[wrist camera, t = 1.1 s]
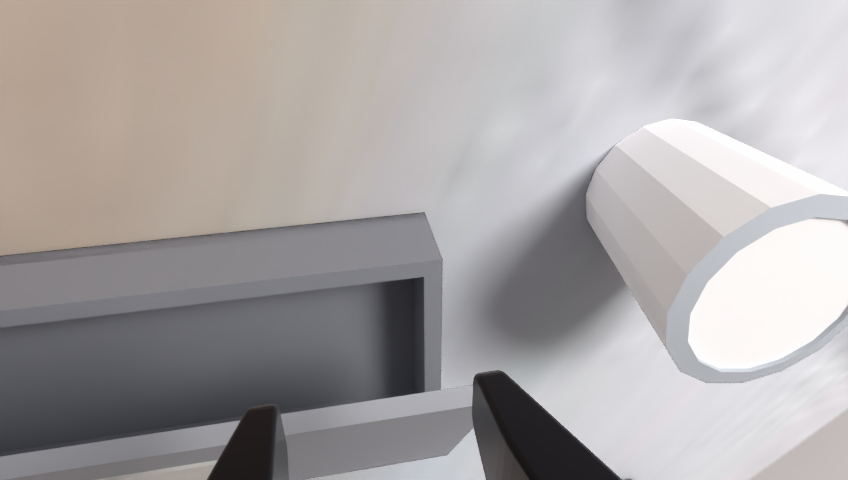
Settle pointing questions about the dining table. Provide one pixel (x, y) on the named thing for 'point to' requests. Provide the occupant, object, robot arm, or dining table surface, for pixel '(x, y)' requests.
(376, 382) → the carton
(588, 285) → the dining table surface
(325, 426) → the lid flap
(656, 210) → the shot glass
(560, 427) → the robot arm
